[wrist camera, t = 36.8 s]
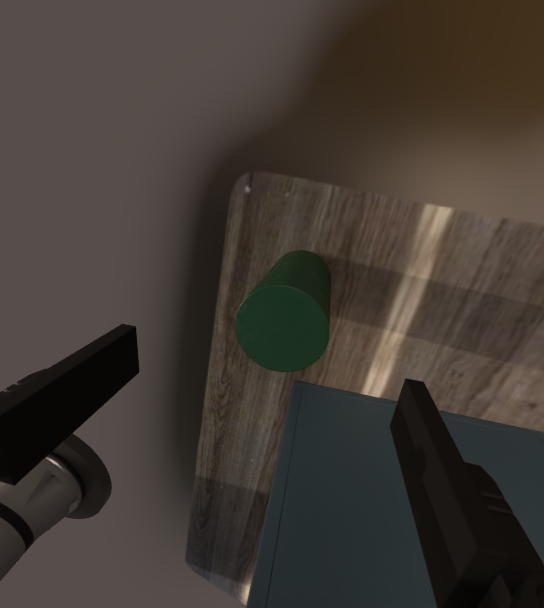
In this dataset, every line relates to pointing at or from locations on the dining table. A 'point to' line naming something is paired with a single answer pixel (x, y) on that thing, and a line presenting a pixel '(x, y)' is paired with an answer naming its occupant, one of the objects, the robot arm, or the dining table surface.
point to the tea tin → (287, 314)
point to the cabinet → (369, 503)
